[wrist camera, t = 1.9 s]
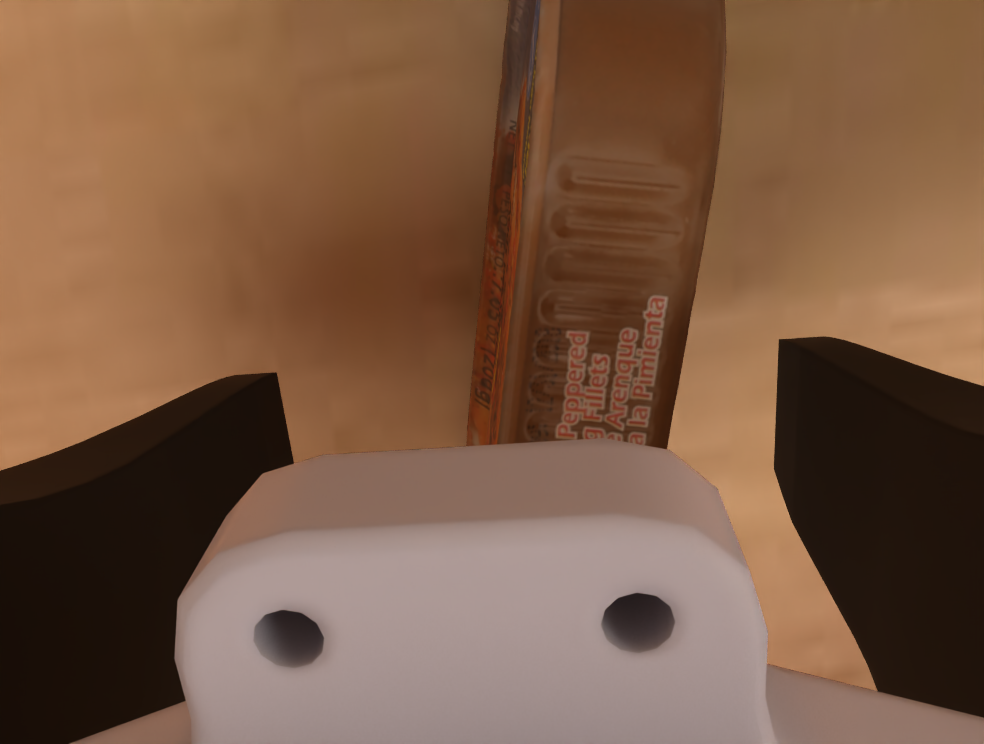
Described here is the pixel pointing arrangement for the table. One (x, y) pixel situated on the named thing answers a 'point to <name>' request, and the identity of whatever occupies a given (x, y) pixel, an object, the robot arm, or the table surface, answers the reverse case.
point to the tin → (596, 217)
